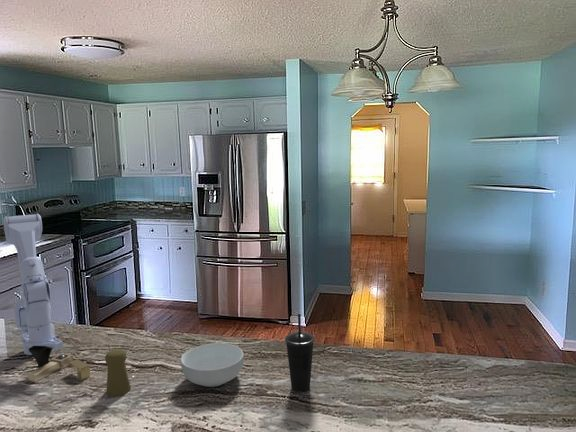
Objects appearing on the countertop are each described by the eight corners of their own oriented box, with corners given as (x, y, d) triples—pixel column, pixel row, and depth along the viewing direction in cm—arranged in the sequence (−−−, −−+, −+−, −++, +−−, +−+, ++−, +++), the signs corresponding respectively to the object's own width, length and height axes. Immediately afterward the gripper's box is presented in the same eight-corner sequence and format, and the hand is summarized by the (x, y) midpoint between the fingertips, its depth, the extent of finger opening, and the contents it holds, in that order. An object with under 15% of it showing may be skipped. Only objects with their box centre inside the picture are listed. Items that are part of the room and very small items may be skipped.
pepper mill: (122, 397, 113) (119, 357, 111) (101, 395, 114) (97, 355, 112) (135, 385, 119) (132, 346, 117) (115, 383, 120) (111, 345, 118)
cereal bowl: (255, 371, 125) (254, 347, 124) (223, 401, 110) (221, 375, 109) (205, 360, 132) (204, 338, 131) (169, 388, 117) (167, 363, 116)
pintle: (61, 366, 130) (60, 354, 130) (67, 366, 130) (66, 354, 130) (58, 369, 128) (56, 356, 128) (64, 369, 128) (62, 356, 128)
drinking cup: (318, 382, 118) (317, 310, 115) (310, 397, 111) (309, 321, 108) (291, 378, 120) (289, 307, 118) (282, 392, 113) (280, 318, 110)
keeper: (90, 380, 122) (89, 365, 121) (82, 383, 120) (80, 368, 119) (78, 373, 126) (77, 358, 125) (70, 376, 124) (68, 362, 123)
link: (63, 360, 132) (62, 352, 131) (73, 362, 130) (72, 354, 130) (26, 380, 121) (25, 371, 120) (37, 382, 119) (36, 374, 119)
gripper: (8, 325, 122) (13, 370, 124) (45, 333, 117) (49, 380, 119) (31, 316, 129) (36, 359, 131) (67, 323, 123) (71, 368, 125)
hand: (44, 369), depth 125 cm, fingers closed, pressing on link
